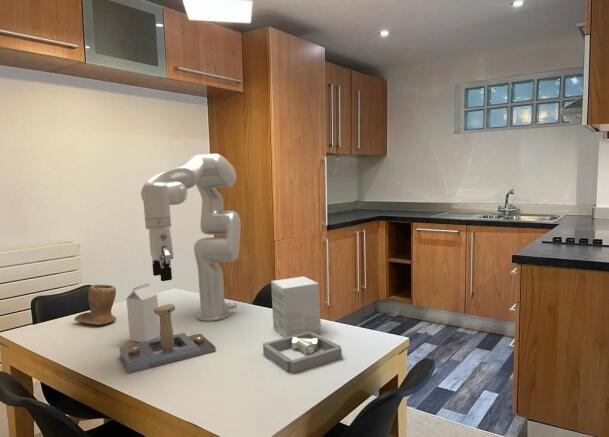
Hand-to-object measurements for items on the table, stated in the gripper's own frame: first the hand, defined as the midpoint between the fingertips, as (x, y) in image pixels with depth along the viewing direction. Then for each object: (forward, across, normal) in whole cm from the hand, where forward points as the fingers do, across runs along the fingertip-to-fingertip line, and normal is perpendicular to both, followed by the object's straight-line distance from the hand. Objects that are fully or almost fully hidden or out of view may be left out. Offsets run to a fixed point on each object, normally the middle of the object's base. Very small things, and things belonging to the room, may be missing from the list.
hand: (162, 277), depth 137 cm
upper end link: (+24, -1, +3) cm, 24 cm away
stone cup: (+25, +50, +14) cm, 58 cm away
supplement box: (+25, -8, -43) cm, 50 cm away
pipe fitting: (+25, -25, -35) cm, 50 cm away
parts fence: (+24, -28, -33) cm, 49 cm away
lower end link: (+24, -1, -2) cm, 24 cm away
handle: (+24, 0, 0) cm, 25 cm away
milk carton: (+25, +18, +3) cm, 31 cm away
